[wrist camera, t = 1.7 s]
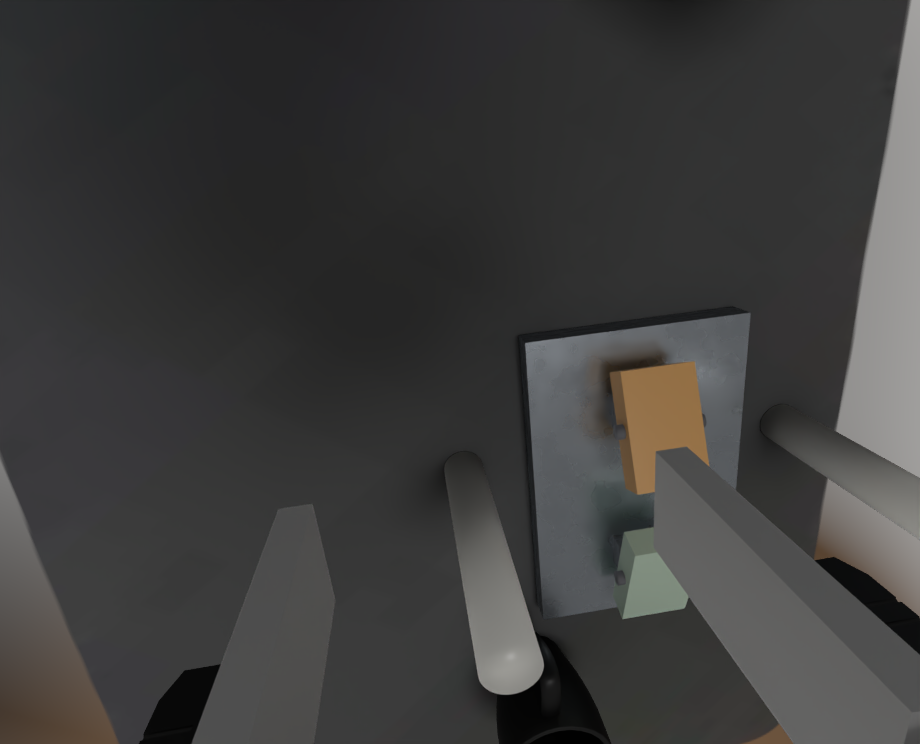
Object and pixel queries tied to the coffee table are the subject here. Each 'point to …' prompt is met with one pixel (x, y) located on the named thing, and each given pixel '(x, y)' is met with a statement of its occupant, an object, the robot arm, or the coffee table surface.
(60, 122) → the coffee table surface
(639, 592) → the rocker on
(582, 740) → the mug
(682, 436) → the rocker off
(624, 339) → the panel
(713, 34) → the coffee table surface
